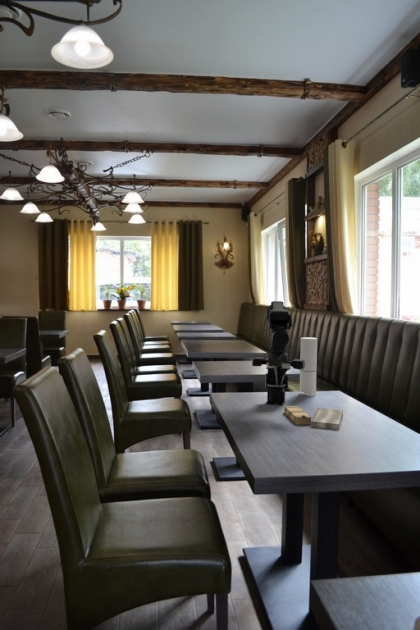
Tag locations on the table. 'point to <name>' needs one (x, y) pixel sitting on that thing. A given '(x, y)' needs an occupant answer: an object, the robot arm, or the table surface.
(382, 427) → the table surface
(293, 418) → the plank
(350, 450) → the table surface
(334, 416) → the floor board
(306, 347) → the cylindrical container
